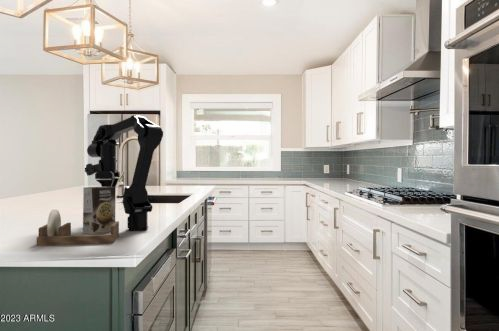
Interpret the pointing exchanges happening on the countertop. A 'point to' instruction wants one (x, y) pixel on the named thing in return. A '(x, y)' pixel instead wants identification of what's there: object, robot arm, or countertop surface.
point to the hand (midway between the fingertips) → (108, 196)
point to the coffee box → (98, 209)
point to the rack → (62, 234)
